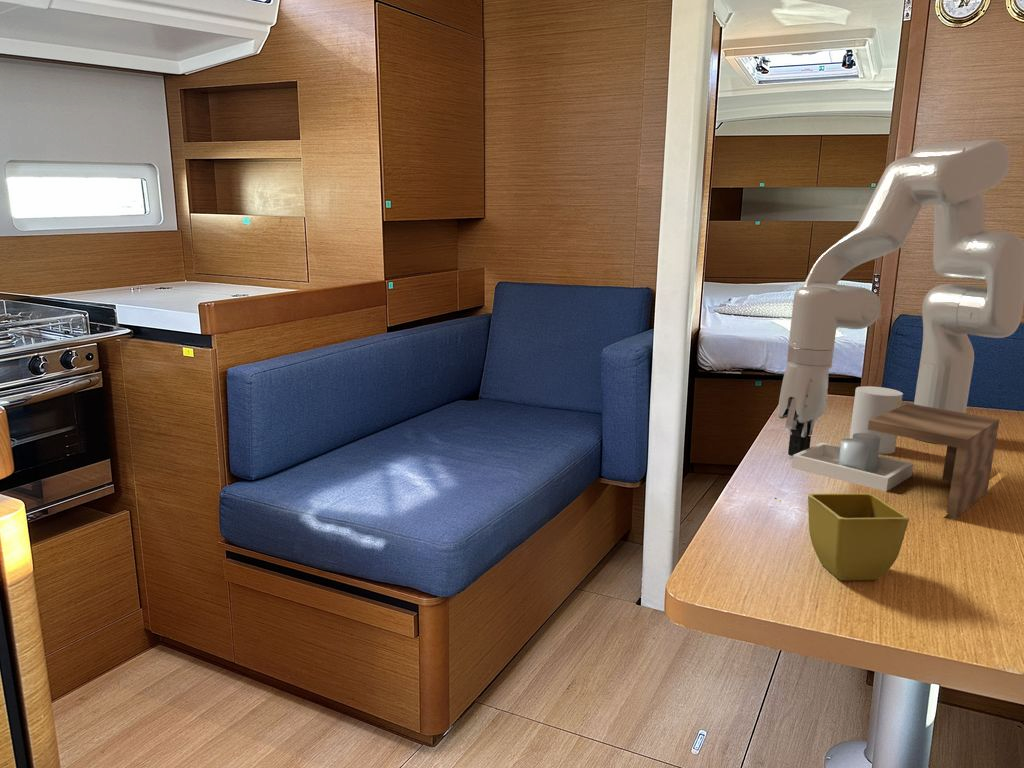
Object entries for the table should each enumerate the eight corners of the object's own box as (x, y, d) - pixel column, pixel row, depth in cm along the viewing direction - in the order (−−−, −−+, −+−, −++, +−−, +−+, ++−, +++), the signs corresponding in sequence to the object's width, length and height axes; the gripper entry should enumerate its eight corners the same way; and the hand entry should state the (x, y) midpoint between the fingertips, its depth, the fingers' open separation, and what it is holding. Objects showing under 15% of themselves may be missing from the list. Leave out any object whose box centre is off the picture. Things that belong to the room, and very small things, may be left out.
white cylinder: (899, 459, 144) (908, 397, 141) (853, 455, 145) (861, 394, 143) (887, 447, 152) (896, 388, 149) (844, 443, 153) (851, 385, 151)
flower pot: (798, 557, 100) (806, 492, 98) (862, 556, 101) (871, 492, 99) (831, 589, 92) (840, 518, 90) (901, 588, 92) (911, 518, 91)
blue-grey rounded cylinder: (843, 469, 134) (847, 436, 133) (868, 476, 131) (873, 442, 130) (832, 475, 131) (836, 441, 130) (858, 482, 128) (863, 447, 127)
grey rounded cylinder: (855, 463, 138) (858, 431, 136) (880, 469, 135) (884, 436, 133) (844, 469, 135) (848, 436, 133) (870, 475, 132) (874, 441, 130)
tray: (820, 457, 143) (821, 442, 143) (911, 479, 132) (913, 463, 132) (790, 471, 135) (792, 455, 134) (885, 496, 124) (888, 478, 123)
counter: (898, 471, 137) (907, 403, 134) (987, 492, 127) (999, 419, 125) (859, 494, 124) (869, 420, 121) (954, 520, 115) (967, 439, 112)
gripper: (807, 350, 144) (796, 444, 148) (769, 358, 133) (759, 459, 137) (848, 356, 139) (835, 453, 143) (811, 365, 128) (799, 469, 132)
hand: (798, 455), depth 140 cm, fingers closed
